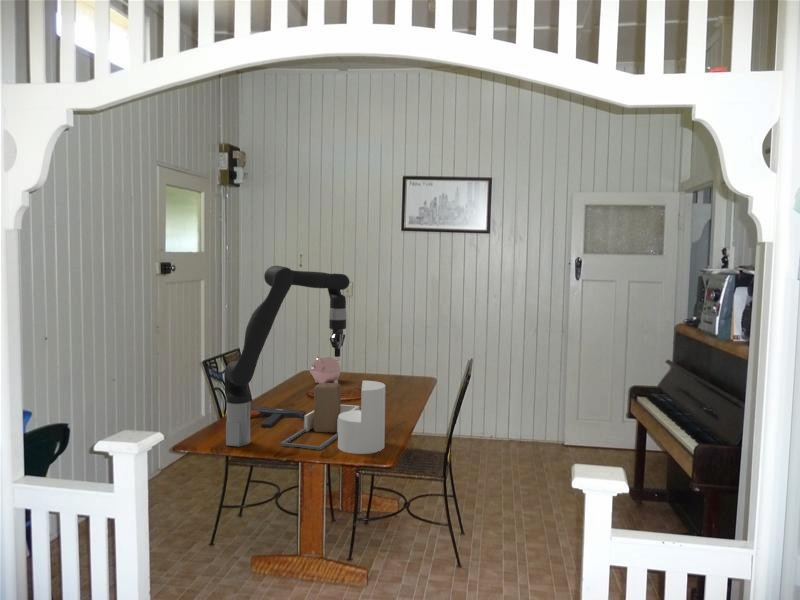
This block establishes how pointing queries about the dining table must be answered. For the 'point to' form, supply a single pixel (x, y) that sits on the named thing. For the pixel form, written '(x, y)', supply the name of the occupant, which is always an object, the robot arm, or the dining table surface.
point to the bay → (285, 443)
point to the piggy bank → (325, 370)
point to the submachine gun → (274, 414)
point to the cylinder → (364, 422)
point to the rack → (310, 416)
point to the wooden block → (326, 407)
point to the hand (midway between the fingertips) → (337, 356)
